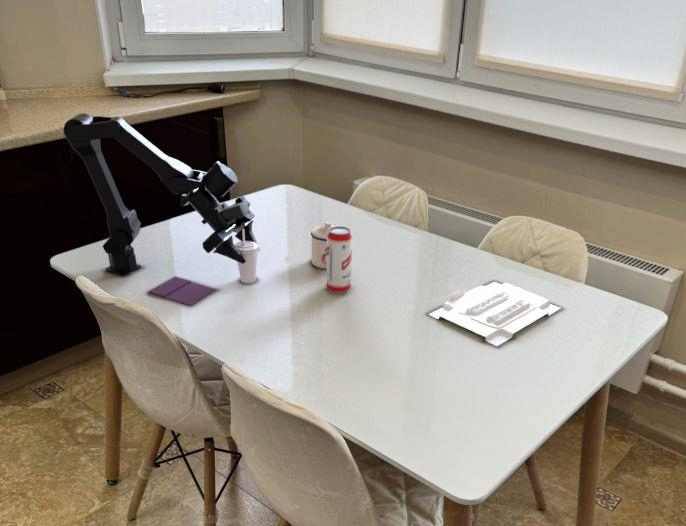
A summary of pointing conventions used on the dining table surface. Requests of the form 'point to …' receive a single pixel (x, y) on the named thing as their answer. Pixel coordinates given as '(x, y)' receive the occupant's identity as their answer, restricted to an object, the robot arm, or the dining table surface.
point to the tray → (495, 310)
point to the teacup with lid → (320, 245)
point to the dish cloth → (182, 291)
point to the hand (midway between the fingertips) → (251, 256)
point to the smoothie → (247, 259)
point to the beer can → (339, 259)
